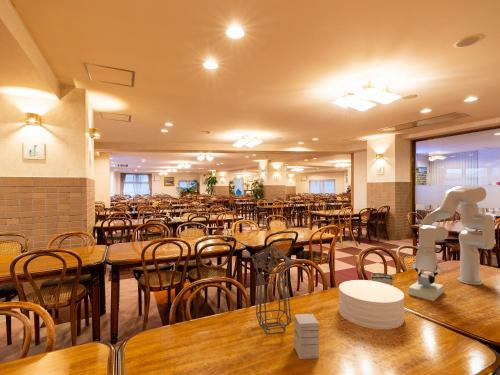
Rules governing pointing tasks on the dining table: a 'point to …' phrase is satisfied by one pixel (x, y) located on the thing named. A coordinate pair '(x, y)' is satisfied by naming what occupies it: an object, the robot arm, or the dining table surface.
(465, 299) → the dining table surface
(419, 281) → the housing base
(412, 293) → the stand
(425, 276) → the cover
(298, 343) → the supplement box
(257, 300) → the geometric lantern
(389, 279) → the food container
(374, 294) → the plate stack
